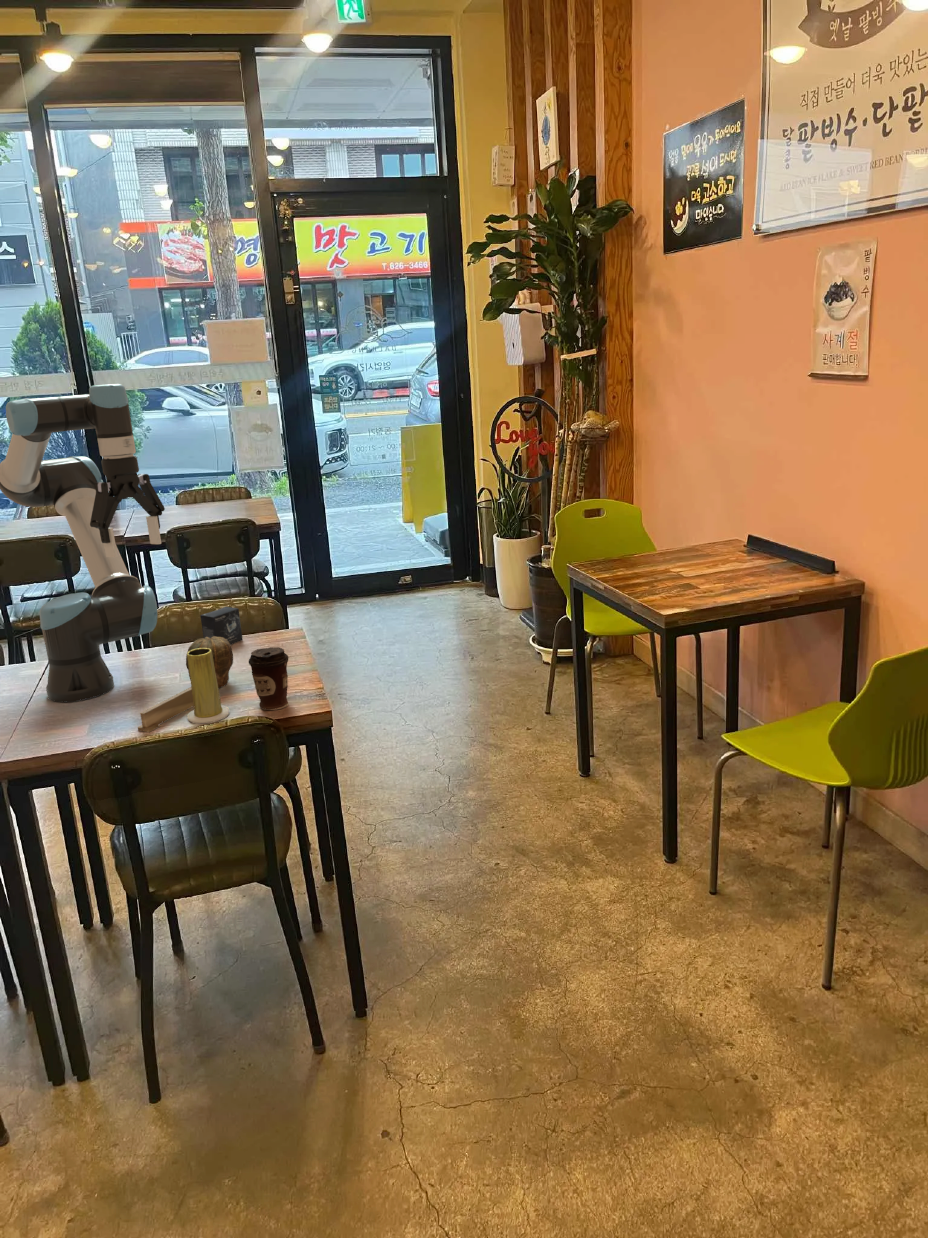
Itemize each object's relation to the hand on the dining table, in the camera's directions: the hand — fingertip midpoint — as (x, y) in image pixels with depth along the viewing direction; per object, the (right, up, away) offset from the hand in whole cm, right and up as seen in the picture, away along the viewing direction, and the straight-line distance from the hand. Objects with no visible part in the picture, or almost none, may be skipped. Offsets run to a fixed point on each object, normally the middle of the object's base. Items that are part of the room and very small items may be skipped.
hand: (134, 550), depth 204 cm
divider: (+11, -37, -4) cm, 39 cm away
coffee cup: (+32, -35, -3) cm, 48 cm away
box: (+9, -23, +44) cm, 50 cm away
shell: (+15, -32, +13) cm, 37 cm away
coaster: (+19, -37, -6) cm, 42 cm away
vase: (+19, -37, -6) cm, 41 cm away
